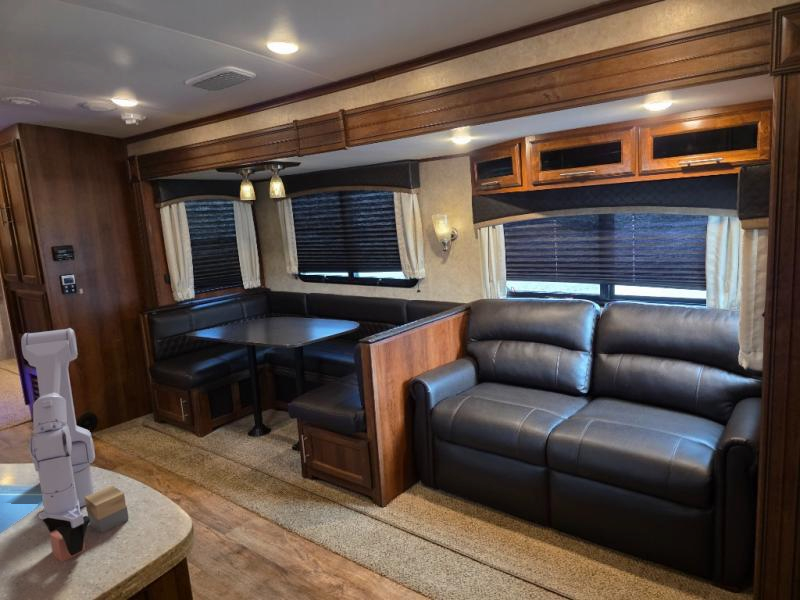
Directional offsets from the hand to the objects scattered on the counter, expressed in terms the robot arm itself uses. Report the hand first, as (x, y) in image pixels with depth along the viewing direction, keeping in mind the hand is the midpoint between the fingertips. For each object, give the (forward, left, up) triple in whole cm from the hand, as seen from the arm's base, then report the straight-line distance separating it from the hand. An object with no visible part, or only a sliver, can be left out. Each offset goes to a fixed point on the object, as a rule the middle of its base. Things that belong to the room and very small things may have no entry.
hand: (68, 546), depth 108 cm
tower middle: (-4, +10, +2) cm, 11 cm away
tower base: (-4, +10, -2) cm, 11 cm away
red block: (0, 0, -2) cm, 2 cm away
